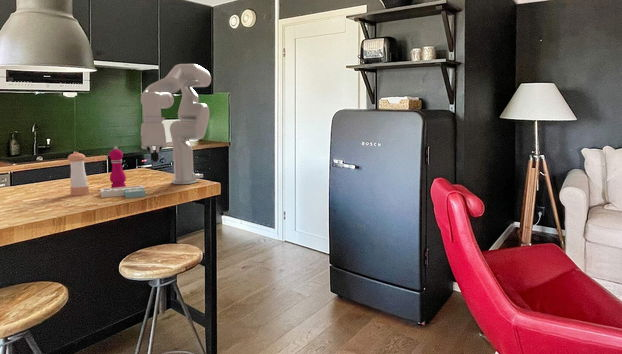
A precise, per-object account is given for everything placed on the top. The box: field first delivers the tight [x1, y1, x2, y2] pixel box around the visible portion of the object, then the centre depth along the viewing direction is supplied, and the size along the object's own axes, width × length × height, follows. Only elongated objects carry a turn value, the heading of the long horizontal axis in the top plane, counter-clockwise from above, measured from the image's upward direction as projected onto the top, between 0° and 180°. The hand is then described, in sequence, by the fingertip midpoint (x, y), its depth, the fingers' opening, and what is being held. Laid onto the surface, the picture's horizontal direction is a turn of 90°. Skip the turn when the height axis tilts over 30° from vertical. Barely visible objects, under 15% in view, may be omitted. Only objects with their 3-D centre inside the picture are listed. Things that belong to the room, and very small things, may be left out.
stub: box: [123, 188, 146, 199], centre depth 195 cm, size 8×6×3 cm
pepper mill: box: [108, 146, 127, 188], centre depth 212 cm, size 7×7×20 cm
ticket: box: [99, 185, 146, 198], centre depth 199 cm, size 18×7×3 cm, turn 119°
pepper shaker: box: [67, 151, 90, 196], centre depth 197 cm, size 7×7×19 cm
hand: (154, 161), depth 197 cm, fingers closed
